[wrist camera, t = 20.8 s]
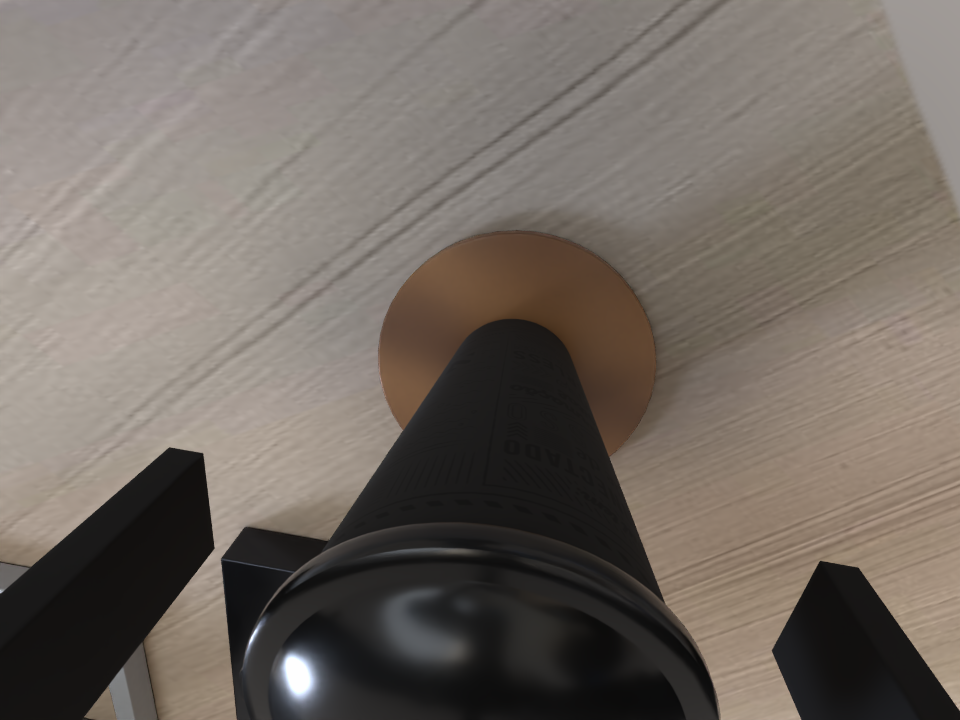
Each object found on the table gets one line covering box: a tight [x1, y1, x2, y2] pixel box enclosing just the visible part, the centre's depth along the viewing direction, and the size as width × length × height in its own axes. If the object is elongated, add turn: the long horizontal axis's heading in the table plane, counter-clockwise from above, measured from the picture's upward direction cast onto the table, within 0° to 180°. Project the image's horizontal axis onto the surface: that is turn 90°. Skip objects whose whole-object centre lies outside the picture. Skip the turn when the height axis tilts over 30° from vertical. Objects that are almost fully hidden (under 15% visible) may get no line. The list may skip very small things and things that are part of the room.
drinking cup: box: [242, 319, 721, 720], centre depth 12 cm, size 8×8×20 cm
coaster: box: [378, 230, 656, 456], centre depth 21 cm, size 11×11×1 cm
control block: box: [221, 527, 328, 720], centre depth 27 cm, size 12×10×4 cm
